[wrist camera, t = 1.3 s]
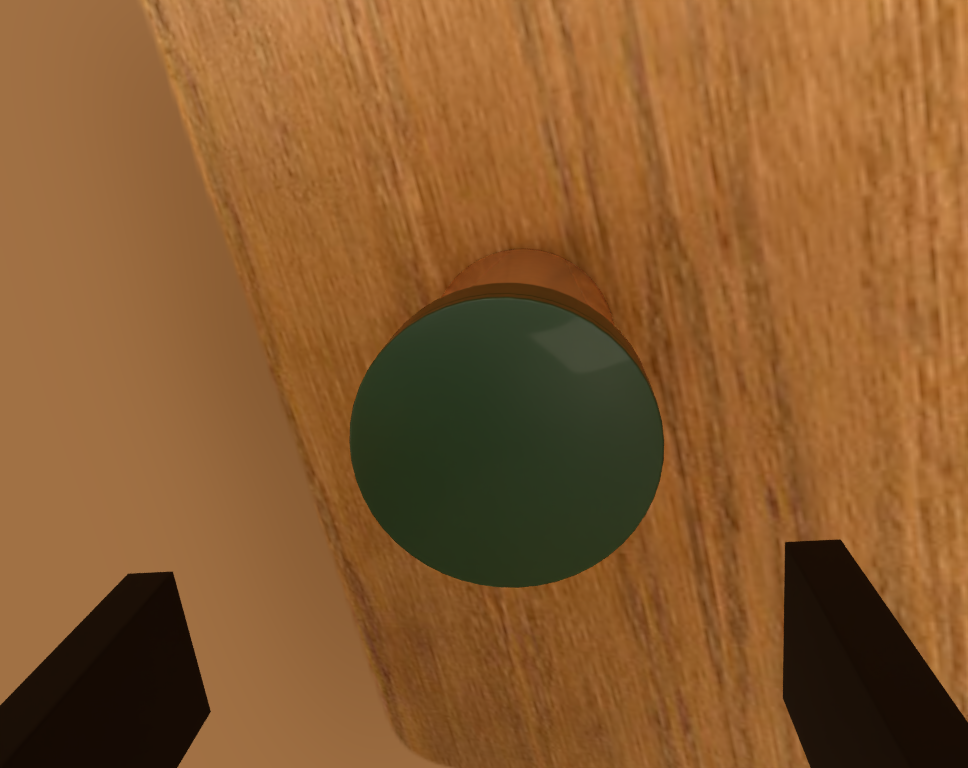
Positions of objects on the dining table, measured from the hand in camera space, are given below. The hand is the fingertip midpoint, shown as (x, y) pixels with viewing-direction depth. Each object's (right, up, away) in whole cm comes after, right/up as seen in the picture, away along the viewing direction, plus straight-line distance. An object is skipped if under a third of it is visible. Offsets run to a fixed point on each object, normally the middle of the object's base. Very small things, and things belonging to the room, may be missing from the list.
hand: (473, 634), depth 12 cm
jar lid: (+1, +2, +7) cm, 7 cm away
